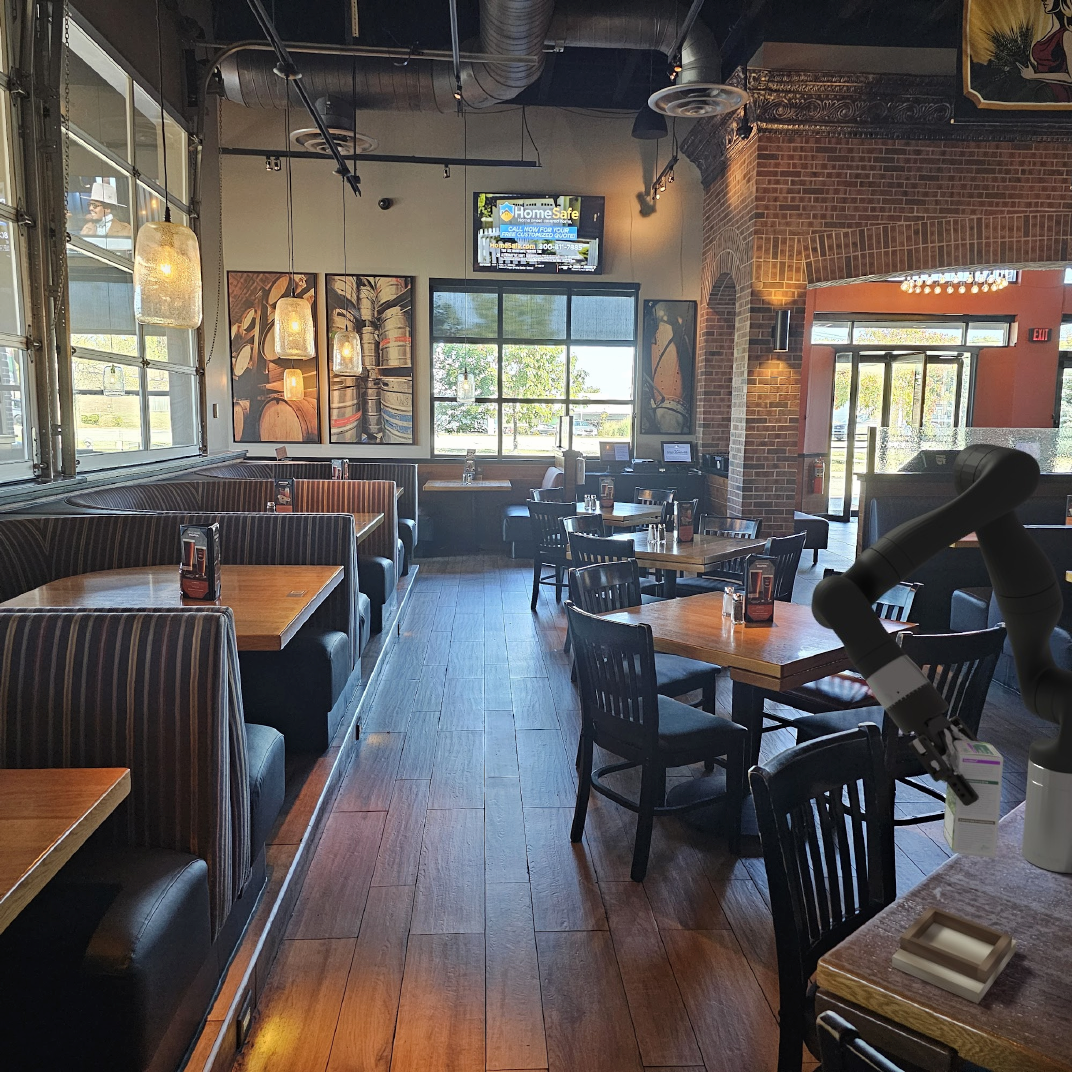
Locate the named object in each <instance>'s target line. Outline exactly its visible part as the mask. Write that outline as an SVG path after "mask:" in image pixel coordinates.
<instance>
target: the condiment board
mask: <svg viewBox="0 0 1072 1072" xmlns="http://www.w3.org/2000/svg"><path fill="white" fill-rule="evenodd" d="M899 940H900V941H899V949H898V950H897V951H896V952H895V953H893V955H892V957H891V959H892V960H891V967H892V968H894V969H896V970H899V971H901V972H903V973H907V974H908V975H910V976H913V977H915V978H917V979H920V980H922V981H924V982H926V983H928V984H932V985H934V986H936V987H938V988H940V989H943V990H945V991H947V992H950V993H952V994H954V995H957V996H959V997H961V998H963V999H966V1000H968V1001H970V1002H973V1003H975V1004H977V1005H978V1004H979V1003H980V1002H981V1000H982V999H983V998H984V996H985V995H986V994H987V992H988V991H989V989H990V988H991V986H992V985H993V983H994V982H995V981H996V979H997V978H998V977H999V975H1000V974H1001V973H1002V971H1003V969H1005V967H1006V965H1007V964H1008V963H1009V962H1010V960H1011V959H1012V957H1013V956H1014V954H1015V953H1016V952H1017V946H1018V943H1017V942H1018V940H1015V939H1013V936H1012V935H1010V934H1008V933H1005V932H1001V931H999V930H996V929H994V928H991V927H988V926H986V925H983V924H981V923H978V922H975V921H972V920H970V919H967V918H964V917H962V916H960V915H956V914H954V913H951V912H948V911H946V910H944V909H940V908H937V907H935V906H933V905H929V907H928V908H926V910H925V911H923V912H922V913H921V915H920V916H919V917H918V918H916V920H915V921H914V922H913V923H912V924H910V926H909V927H908V928H907V929H906V930H905V931H904V932H903V933H902V934H901V935H900V939H899Z"/></svg>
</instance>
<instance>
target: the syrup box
mask: <svg viewBox="0 0 1072 1072" xmlns="http://www.w3.org/2000/svg"><path fill="white" fill-rule="evenodd" d="M978 741H979V740H978ZM978 741H967V740H956V741H955V742H954V743H953V747H954V749H955V752H956V755H957V760H956V764H957V766H958V769H959V771H960V774H959V775H961V774H962V775H963V776H964V778H965V779H966V780H967V781H968V783H969V784H970V785H971V787H972V788H973V789H974V791H975V792H976V793H977V794H978V796H979V799H978V800H977V801H976V802H974V803H972V804H970V805H968V806H965V805H964V804H963V803H962V802H961V801H960V799H959V798H958V797H957V795H956V794H955V793H954V791H953V790H952V789H951V787H950V786H949V785H948V783H947V782H946V793H945V805H944V815H943V816H944V820H943V831H942V832H943V833H942V836H943V837H944V839H945V841H946V843H947V844H948V846H949V848H950V850H951V852H952V853H954V854H957V855H958V854H959V855H965V856H973V857H980V858H981V857H983V858H990V859H995V858H996V856H997V845H998V836H999V822H1000V809H1001V798H1002V797H1001V793H1002V782H1003V780H1002V779H1003V769H1004V768H1003V767H1004V766H1003V765H1004V757H1003V755H1002V754H1001V753H1000V752H999V751H998V750H997V749H996V747H994V746H993V744H992V743H989V742H985V741H984V742H983V741H979V742H978ZM948 766H949V764H948ZM949 768H950V767H949Z"/></svg>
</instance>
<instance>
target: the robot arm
mask: <svg viewBox="0 0 1072 1072" xmlns="http://www.w3.org/2000/svg"><path fill="white" fill-rule="evenodd" d="M1040 481H1041V466H1040V465H1039V462H1038V461H1037V460H1036V457H1034V456H1033V455H1031V453H1028V452H1026V451H1024V450H1021V449H1017V448H1012V447H1006V446H1001V445H996V444H989V443H975V444H970V445H968V446H966V447H964V448H963V449H962V450H961V451H960V452H959V453H958V455H957V456H956V458H955V461H954V463H953V466H952V482H953V486H954V489H955V491H956V493H957V497H956V498H954V499H952V500H950V501H949V502H947V503H945V504H943V505H941V506H940V507H938V508H935V509H933V510H931V511H929V512H927V513H924V514H922V515H918V516H917V517H914V518H912V519H910V520H908V521H905V522H903V523H901V524H900V525H898V526H895V527H894V528H893V529H891V530H890V531H888V532H886V533H885V534H884V535H882V536H881V537H880V538H879V539H877V540H876V541H875V542H874V543H872V544H871V545H870V546H869V547H868V548H866V549H865V550H863V552H861V554H859V555H858V557H857V558H856V559H855V561H854V562H853V564H852V565H851V566H850V567H849V568H848V569H847V570H845V572H843V573H842V574H841V575H830V576H827V577H824V578H823V579H821V580H820V581H819V582H818V583H817V584H816V585H815V587H814V588H813V592H812V597H811V604H810V605H811V613H812V616H813V618H814V620H815V621H816V622H817V624H819V625H820V626H821V627H823V628H824V629H825V628H826V629H829V630H832V631H833V632H834V634H835V635H836V636H837V638H838V639H839V641H840V642H841V643H842V645H843V647H844V650H845V653H846V656H847V657H848V659H849V660H850V662H851V663H852V665H853V666H854V668H855V669H856V670H857V672H858V673H859V674H860V676H861V677H862V678H863V680H864V681H865V682H866V684H867V685H868V687H869V688H870V690H871V693H872V695H874V697H875V698H876V700H877V701H878V703H880V705H881V706H882V708H883V709H884V710H885V712H886V713H887V714H888V716H889V717H890V718H891V719H892V721H893V723H894V724H895V725H896V726H897V728H898V729H899V730H900V731H901V733H902V734H904V735H910V734H911V733H914V735H915V736H916V738H915V739H914V740H912V741H910V742H909V743H908V746H909V749H910V750H911V751H912V752H913V754H914V755H915V757H916V758H917V760H919V762H920V763H921V765H922V766H923V768H924V769H925V770H926V772H927V773H928V775H929V776H930V777H931V778H932V780H933V781H934V782H936V783H938V782H940V781H941V782H942V783H946V784H947V783H948V785H949V786H950V787H951V789H952V790H953V791H954V793H955V794H956V795H957V797H958V798H959V799H960V801H961V802H962V803H963V804H964V805H965V806H968V805H970V804H972V803H974V802H976V801H977V800H978V799H979V796H978V794H977V793H976V792H975V791H974V789H973V788H972V787H971V785H970V784H969V783H968V781H967V780H966V779H965V778H964V776H963V775H962V774H961V775H959V774H960V771H959V769H958V766H957V764H956V760H957V755H956V752H955V749H954V747H953V743H954V742H955V741H956V740H967V741H978V742H980V741H979V739H978V738H977V737H976V736H975V735H974V733H973V732H972V731H971V729H969V727H968V726H967V725H966V723H965V722H964V721H963V720H962V718H960V716H959V715H955V716H953V717H951V718H949V719H948V718H947V717H946V716H945V715H944V713H945V712H946V711H948V709H949V707H950V705H949V704H948V702H947V701H946V700H945V698H944V697H943V696H942V695H941V693H940V692H939V691H938V690H937V689H936V687H935V686H934V684H933V683H932V681H930V680H929V678H928V676H926V675H925V673H924V672H923V671H922V670H921V668H920V667H919V666H918V665H917V664H916V663H915V662H914V661H913V660H912V659H911V658H910V657H909V656H908V654H907V653H906V652H905V651H904V650H903V648H902V646H900V644H899V643H898V642H897V640H895V638H894V637H893V636H892V635H891V634H890V633H889V632H888V630H887V629H886V627H884V625H883V623H882V621H881V619H880V618H879V616H878V615H877V613H876V611H875V610H874V608H873V606H874V605H875V604H876V603H877V602H878V601H879V600H880V599H881V598H882V597H883V596H884V595H885V594H886V593H888V592H889V591H890V590H892V589H894V588H895V587H897V586H898V585H900V583H901V582H903V581H904V580H906V579H907V578H909V576H911V575H912V574H913V573H915V572H916V571H917V570H919V568H921V567H922V566H923V565H925V564H926V563H927V562H929V561H930V560H931V559H933V558H934V557H935V556H937V555H938V554H940V553H941V552H942V551H943V552H944V551H945V550H946V549H948V548H949V547H950V546H952V545H954V544H955V543H957V542H959V541H961V540H962V539H964V538H966V537H967V536H969V535H971V534H973V533H974V534H975V537H976V539H977V541H978V542H977V543H978V545H979V548H980V551H981V555H982V558H983V561H984V564H985V566H986V569H987V572H988V575H989V576H988V577H989V579H990V583H991V587H992V590H993V594H994V597H995V599H996V602H997V606H998V609H999V612H1000V613H1001V617H1002V619H1003V620H1002V621H1003V623H1004V627H1005V629H1006V633H1007V636H1008V641H1009V643H1010V648H1011V651H1012V655H1013V660H1014V666H1015V671H1016V676H1017V681H1018V686H1019V687H1018V688H1019V692H1020V695H1021V699H1022V703H1023V705H1024V707H1025V708H1026V710H1027V711H1028V712H1029V713H1030V714H1031V715H1033V716H1035V717H1036V718H1038V719H1041V720H1044V721H1046V722H1049V723H1052V724H1056V725H1059V730H1058V736H1057V737H1056V738H1055V737H1053V738H1049V737H1047V738H1039V739H1036V740H1034V741H1033V742H1031V744H1030V746H1029V753H1028V754H1029V755H1028V765H1027V766H1028V767H1027V777H1026V778H1027V779H1026V781H1027V782H1026V790H1025V792H1026V793H1025V805H1024V818H1023V831H1022V832H1023V833H1022V843H1021V844H1022V845H1021V856H1022V857H1023V858H1024V860H1026V861H1027V862H1029V863H1031V864H1033V865H1034V866H1037V867H1039V868H1041V869H1043V870H1047V871H1051V872H1056V873H1063V874H1072V670H1068V669H1065V668H1061V667H1059V666H1058V665H1057V664H1056V662H1055V660H1054V657H1053V654H1052V651H1051V645H1050V640H1051V639H1050V638H1051V635H1052V634H1053V631H1054V630H1055V628H1056V626H1057V625H1058V622H1059V621H1060V618H1061V615H1062V612H1063V609H1064V599H1063V594H1062V591H1061V587H1060V584H1059V580H1058V577H1057V573H1056V571H1055V568H1054V567H1053V564H1052V563H1051V560H1050V559H1049V557H1048V556H1047V554H1046V553H1045V551H1044V550H1043V549H1042V547H1041V546H1040V545H1039V544H1038V542H1037V541H1036V539H1034V537H1033V536H1032V535H1031V533H1030V532H1029V531H1028V529H1027V528H1026V527H1025V526H1024V524H1023V522H1022V521H1021V519H1020V518H1019V516H1018V514H1017V511H1016V509H1017V508H1018V507H1020V506H1021V505H1023V504H1024V503H1025V502H1027V501H1028V500H1029V499H1030V498H1031V497H1032V496H1033V495H1034V493H1035V492H1036V491H1037V489H1038V486H1039V485H1040ZM948 764H949V766H948ZM949 767H950V768H949ZM935 769H936V770H935Z"/></svg>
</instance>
